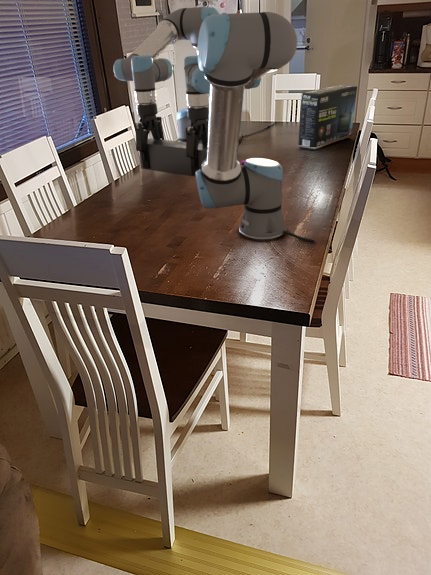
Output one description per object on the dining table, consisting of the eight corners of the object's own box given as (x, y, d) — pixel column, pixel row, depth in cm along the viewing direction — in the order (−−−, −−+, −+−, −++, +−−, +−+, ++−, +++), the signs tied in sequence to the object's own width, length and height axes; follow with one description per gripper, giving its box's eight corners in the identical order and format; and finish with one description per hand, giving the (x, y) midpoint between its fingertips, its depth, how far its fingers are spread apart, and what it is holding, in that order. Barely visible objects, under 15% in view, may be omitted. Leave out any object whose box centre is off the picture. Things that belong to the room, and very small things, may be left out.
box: (213, 172, 170) (212, 145, 165) (203, 178, 165) (201, 150, 159) (152, 163, 183) (150, 138, 177) (141, 168, 177) (138, 142, 172)
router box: (314, 151, 231) (318, 94, 217) (296, 148, 237) (299, 92, 224) (352, 138, 251) (358, 85, 238) (335, 135, 258) (340, 83, 245)
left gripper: (154, 98, 176) (160, 157, 187) (120, 107, 161) (128, 171, 172) (170, 99, 172) (175, 159, 184) (136, 108, 157) (144, 174, 169)
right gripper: (204, 100, 166) (206, 163, 177) (171, 111, 151) (177, 179, 163) (222, 102, 162) (223, 166, 174) (191, 112, 147) (195, 181, 159)
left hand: (153, 165), depth 178 cm, fingers closed on box, 7 cm apart
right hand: (201, 172), depth 168 cm, fingers closed on box, 7 cm apart
